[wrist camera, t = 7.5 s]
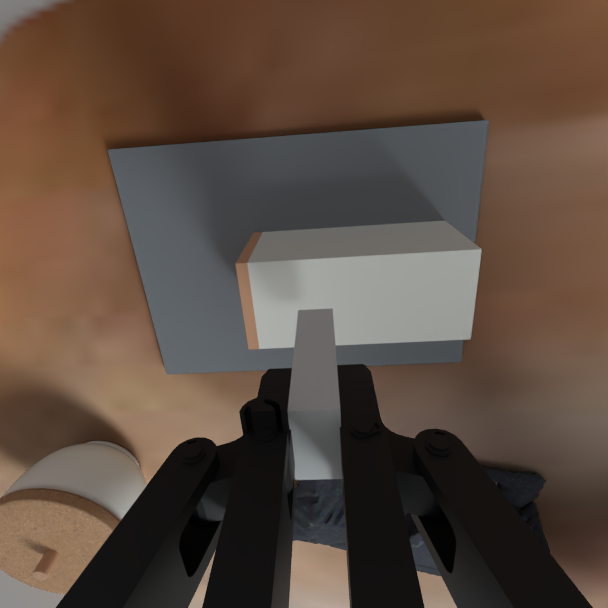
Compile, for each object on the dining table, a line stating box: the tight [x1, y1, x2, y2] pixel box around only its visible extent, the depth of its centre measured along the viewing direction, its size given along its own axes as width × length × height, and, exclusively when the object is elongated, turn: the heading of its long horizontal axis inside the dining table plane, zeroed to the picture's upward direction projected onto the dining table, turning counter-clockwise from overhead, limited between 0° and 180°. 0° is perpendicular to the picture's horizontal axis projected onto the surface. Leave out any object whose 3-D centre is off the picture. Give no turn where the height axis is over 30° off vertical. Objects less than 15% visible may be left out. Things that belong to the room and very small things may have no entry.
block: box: [235, 221, 482, 349], centre depth 23 cm, size 5×6×12 cm
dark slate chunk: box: [293, 466, 550, 576], centre depth 34 cm, size 15×22×5 cm
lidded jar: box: [0, 441, 147, 594], centre depth 31 cm, size 11×11×9 cm
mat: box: [108, 120, 489, 374], centre depth 26 cm, size 16×22×1 cm
